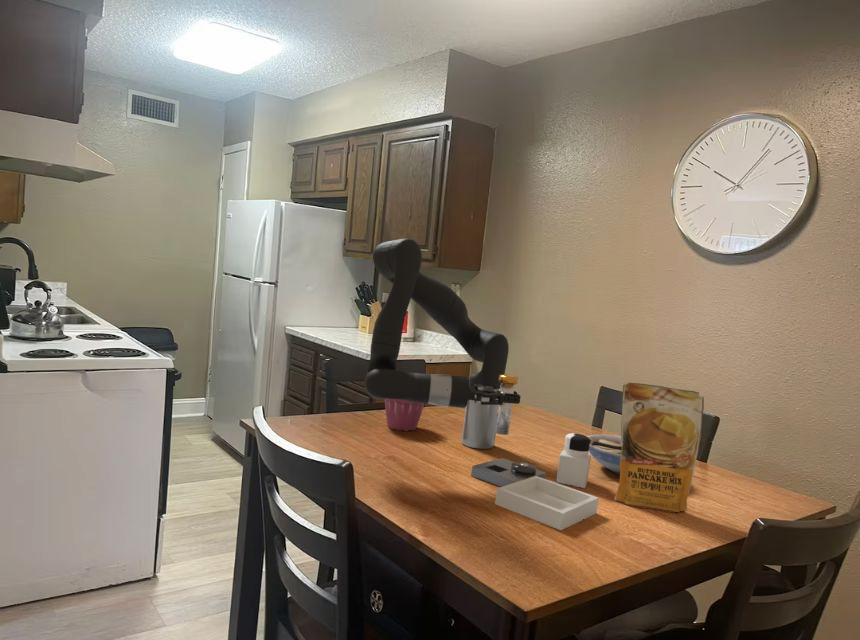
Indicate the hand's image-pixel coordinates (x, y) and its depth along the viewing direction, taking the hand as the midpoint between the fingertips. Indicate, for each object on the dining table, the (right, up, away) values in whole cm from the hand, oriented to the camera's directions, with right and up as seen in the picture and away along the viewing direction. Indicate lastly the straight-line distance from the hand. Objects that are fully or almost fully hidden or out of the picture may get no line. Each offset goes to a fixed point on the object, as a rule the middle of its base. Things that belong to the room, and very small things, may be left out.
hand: (517, 397), depth 149 cm
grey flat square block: (-2, -20, +2) cm, 21 cm away
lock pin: (-4, -9, 0) cm, 9 cm away
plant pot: (-30, -15, +41) cm, 53 cm away
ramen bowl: (+32, -23, +20) cm, 44 cm away
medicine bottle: (+14, -22, +6) cm, 27 cm away
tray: (+4, -22, -15) cm, 27 cm away
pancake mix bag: (+30, -25, -5) cm, 39 cm away
